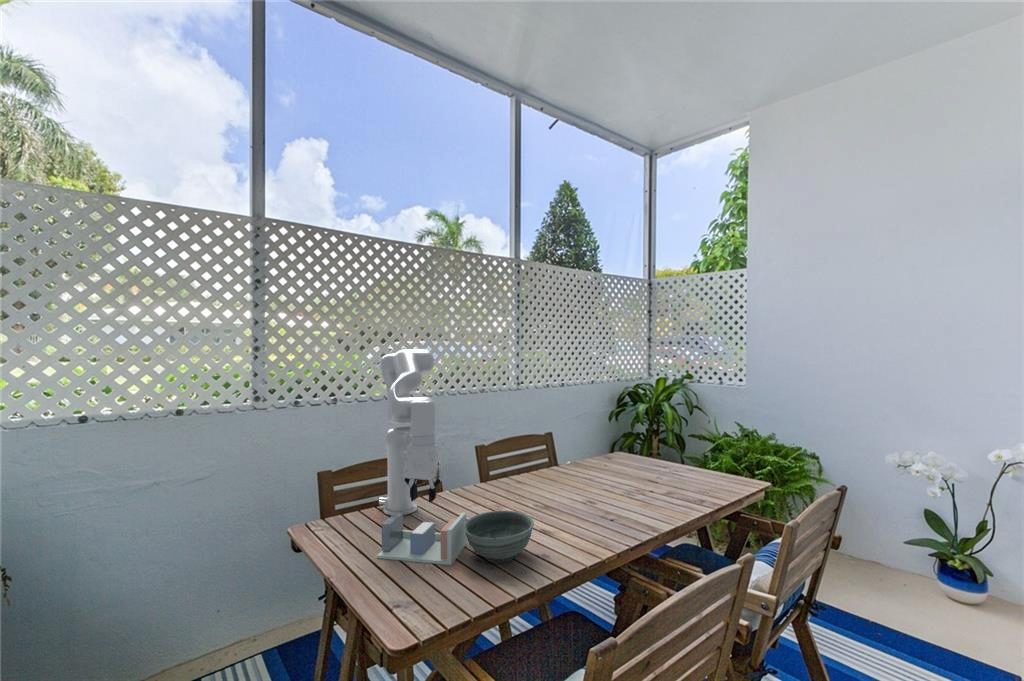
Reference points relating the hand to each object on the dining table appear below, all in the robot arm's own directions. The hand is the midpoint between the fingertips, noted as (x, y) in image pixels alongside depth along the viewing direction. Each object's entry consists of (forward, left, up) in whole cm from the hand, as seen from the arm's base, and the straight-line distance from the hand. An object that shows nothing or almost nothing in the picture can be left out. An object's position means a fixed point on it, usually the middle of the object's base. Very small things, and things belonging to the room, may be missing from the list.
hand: (423, 499), depth 135 cm
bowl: (+24, +1, -16) cm, 28 cm away
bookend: (-10, 0, -14) cm, 17 cm away
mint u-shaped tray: (0, 0, -15) cm, 15 cm away
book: (0, 0, -15) cm, 15 cm away
